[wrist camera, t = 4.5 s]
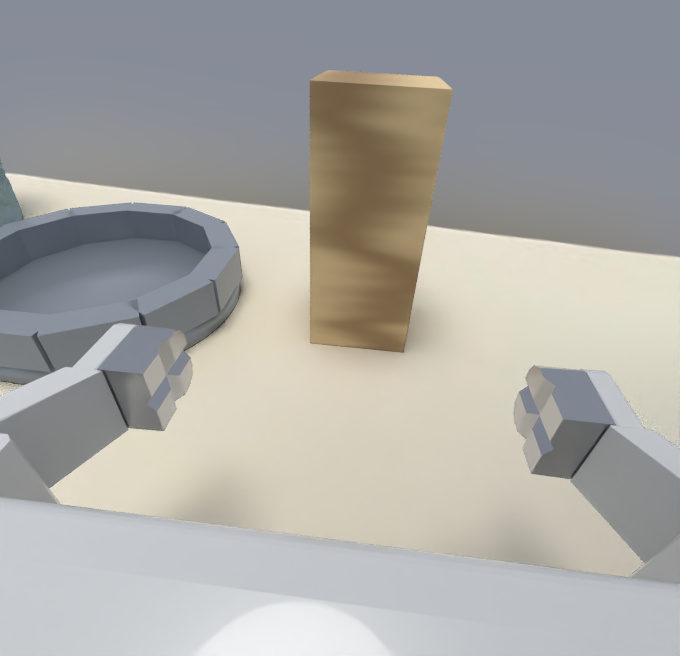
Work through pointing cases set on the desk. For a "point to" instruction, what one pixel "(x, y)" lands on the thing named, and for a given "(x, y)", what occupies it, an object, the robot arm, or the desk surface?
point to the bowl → (109, 280)
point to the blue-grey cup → (8, 201)
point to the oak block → (370, 201)
